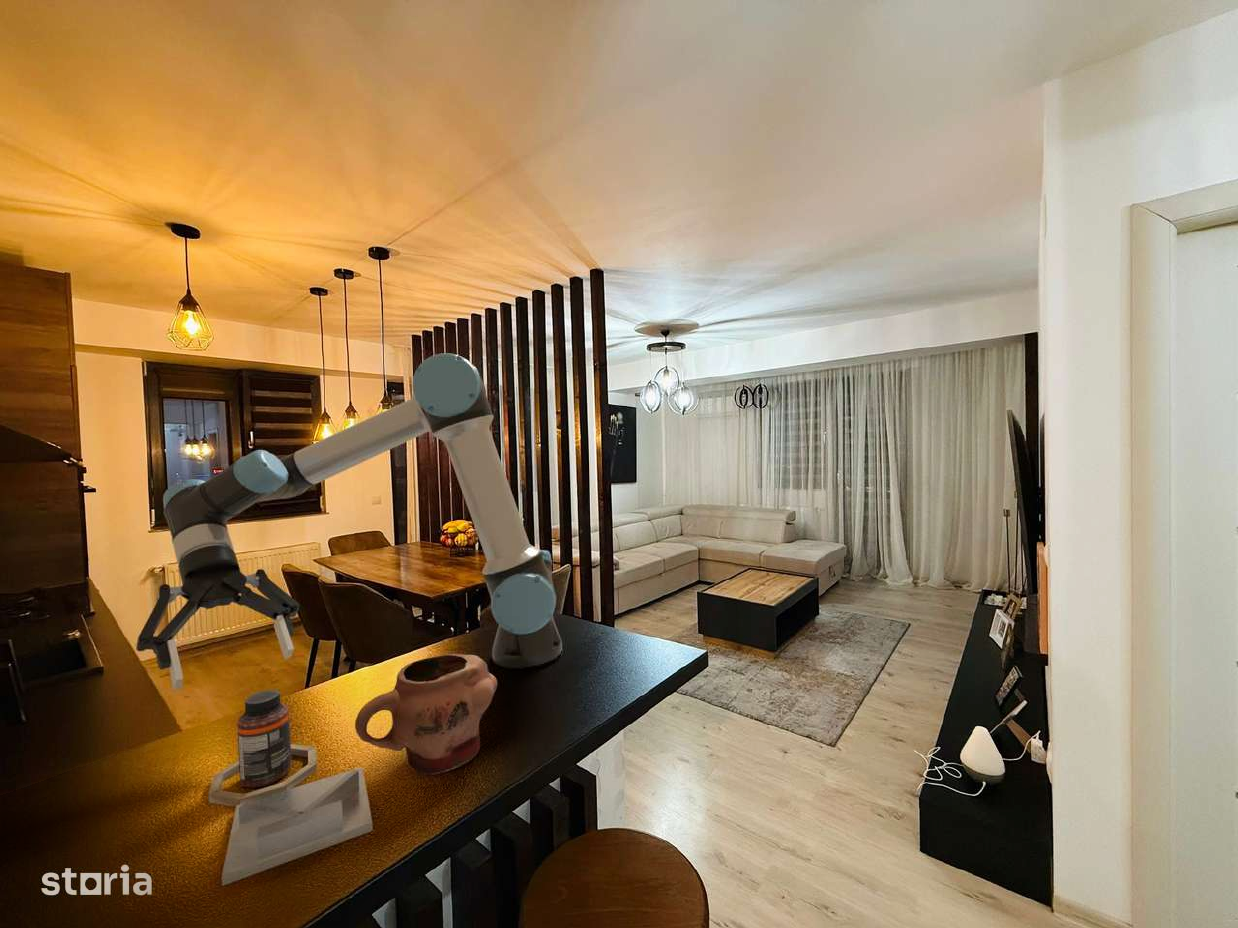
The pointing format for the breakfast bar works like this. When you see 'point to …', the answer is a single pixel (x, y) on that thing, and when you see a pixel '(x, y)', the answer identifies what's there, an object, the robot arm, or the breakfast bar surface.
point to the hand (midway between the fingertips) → (237, 668)
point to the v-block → (296, 823)
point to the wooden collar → (237, 798)
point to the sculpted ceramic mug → (434, 711)
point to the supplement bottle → (264, 740)
